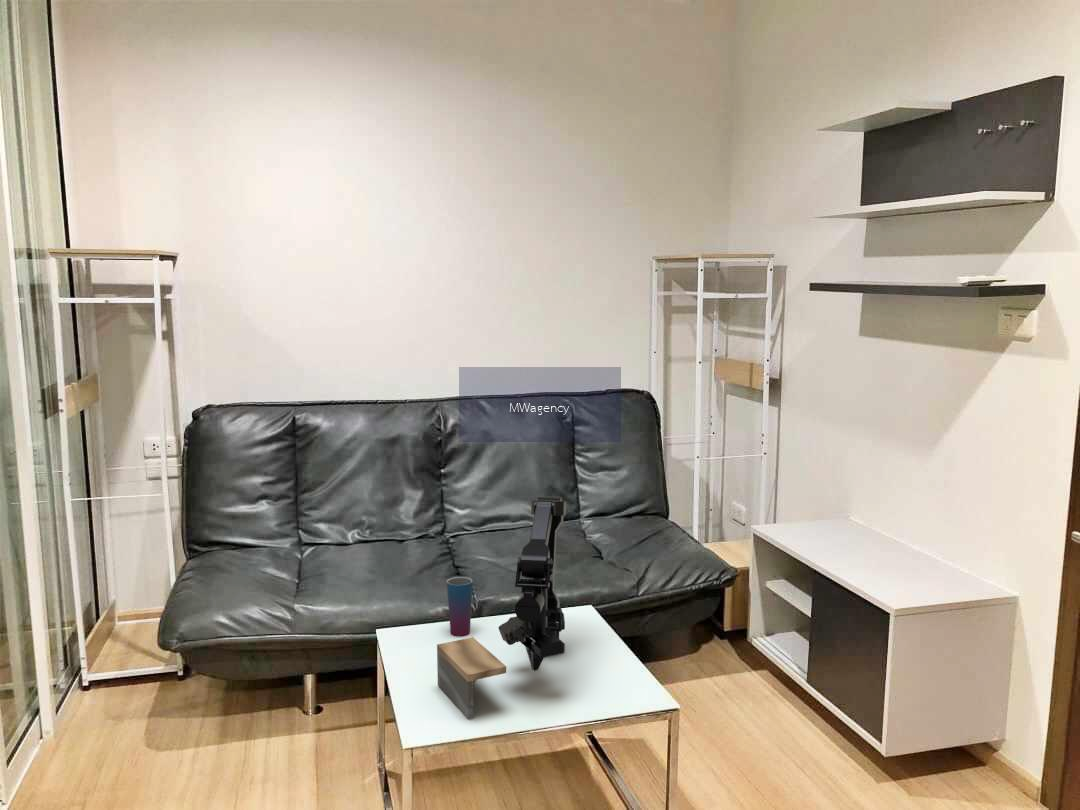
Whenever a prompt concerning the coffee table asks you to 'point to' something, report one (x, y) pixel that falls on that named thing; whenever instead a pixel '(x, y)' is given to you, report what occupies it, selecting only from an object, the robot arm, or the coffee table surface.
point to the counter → (464, 670)
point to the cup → (459, 605)
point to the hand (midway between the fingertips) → (535, 670)
